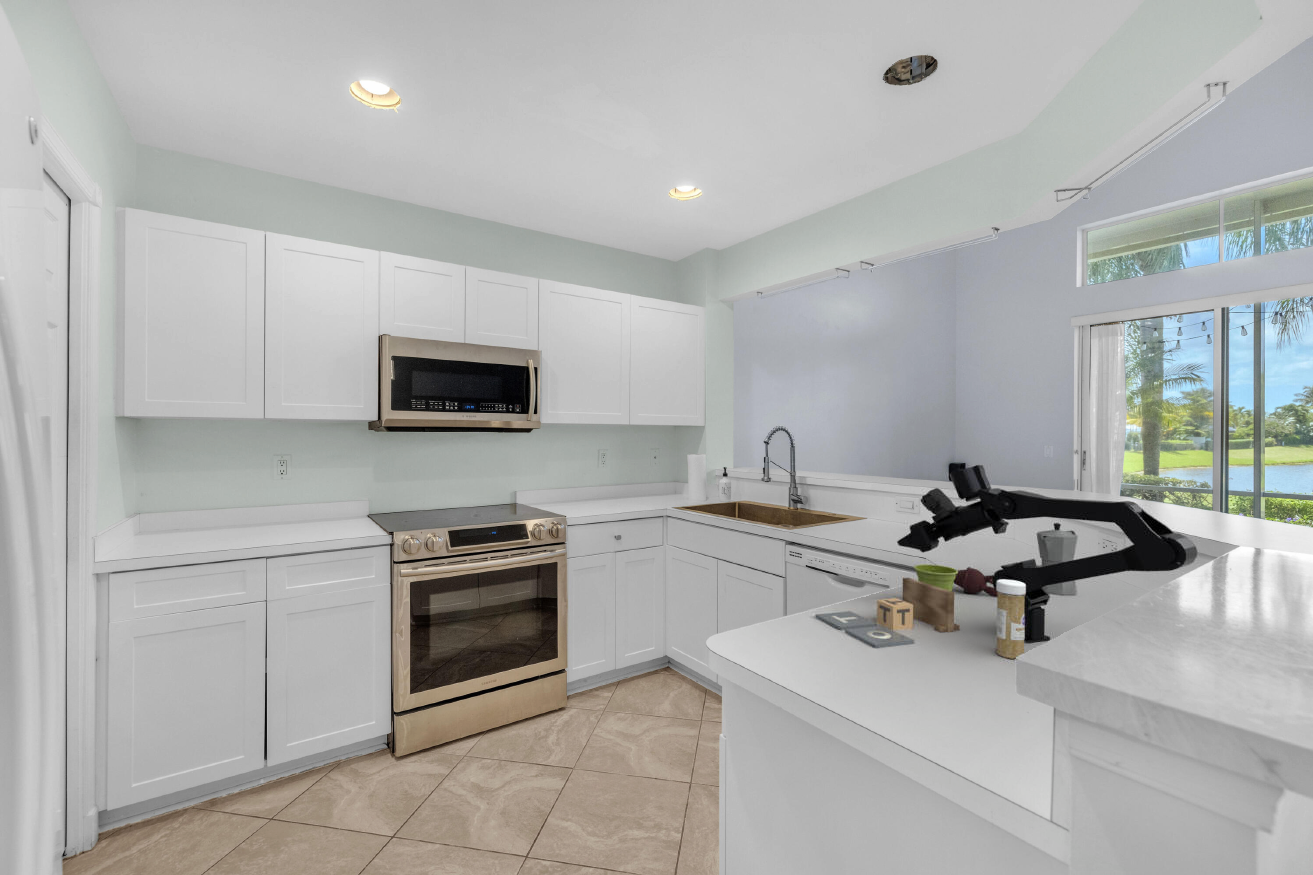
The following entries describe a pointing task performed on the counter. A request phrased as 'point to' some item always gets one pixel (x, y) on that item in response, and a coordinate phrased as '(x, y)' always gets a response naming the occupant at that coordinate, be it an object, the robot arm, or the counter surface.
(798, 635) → the counter surface
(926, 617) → the screen
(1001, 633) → the sprinkles bottle
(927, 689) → the counter surface
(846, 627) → the tile
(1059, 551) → the coffeepot
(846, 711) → the counter surface
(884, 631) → the tile
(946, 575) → the plant pot
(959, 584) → the dark red bulbous piece
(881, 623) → the letter cube
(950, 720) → the counter surface
